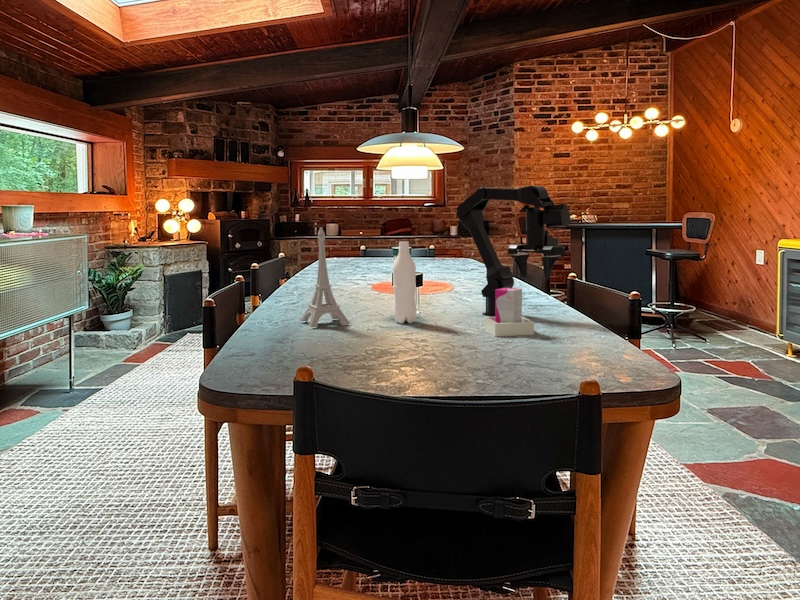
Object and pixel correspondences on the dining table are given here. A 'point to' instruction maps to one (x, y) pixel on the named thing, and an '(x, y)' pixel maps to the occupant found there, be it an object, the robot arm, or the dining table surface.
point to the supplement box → (508, 305)
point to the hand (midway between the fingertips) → (535, 278)
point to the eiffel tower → (317, 306)
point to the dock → (509, 327)
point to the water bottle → (404, 285)
